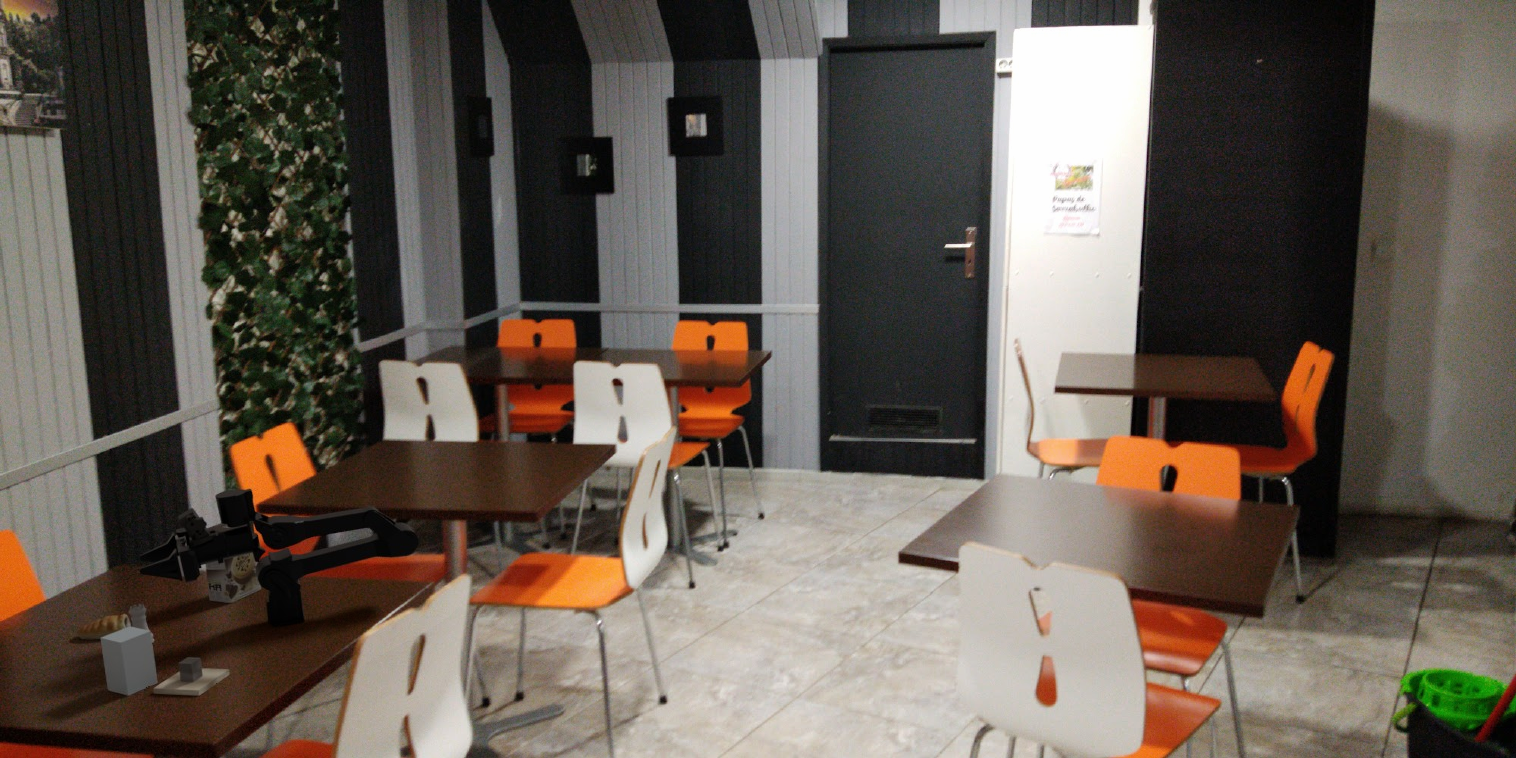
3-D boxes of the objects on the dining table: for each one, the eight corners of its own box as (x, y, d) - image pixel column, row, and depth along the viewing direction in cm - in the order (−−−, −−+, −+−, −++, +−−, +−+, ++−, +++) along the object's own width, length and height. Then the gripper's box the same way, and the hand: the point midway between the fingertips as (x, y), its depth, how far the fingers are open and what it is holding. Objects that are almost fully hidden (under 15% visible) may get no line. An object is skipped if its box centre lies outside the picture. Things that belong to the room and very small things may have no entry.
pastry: (75, 644, 242) (72, 626, 241) (82, 633, 248) (79, 615, 248) (127, 637, 245) (124, 619, 244) (132, 625, 251) (130, 608, 251)
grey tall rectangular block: (137, 677, 224) (130, 626, 222) (157, 682, 221) (150, 630, 219) (107, 690, 219) (100, 637, 217) (128, 695, 216) (120, 642, 214)
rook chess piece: (144, 649, 238) (139, 610, 236) (124, 648, 238) (119, 609, 237) (159, 640, 242) (154, 602, 240) (140, 639, 243) (134, 601, 241)
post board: (186, 672, 225) (182, 649, 225) (229, 674, 224) (226, 651, 223) (154, 693, 217) (150, 669, 216) (199, 695, 215) (196, 671, 214)
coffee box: (232, 603, 261) (223, 531, 258) (208, 601, 263) (199, 529, 261) (262, 589, 270) (254, 519, 267) (239, 587, 272) (231, 517, 269)
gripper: (214, 495, 249) (130, 514, 243) (220, 517, 233) (130, 538, 226) (225, 546, 252) (142, 566, 245) (232, 572, 235) (143, 593, 228)
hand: (139, 564), depth 236 cm, fingers open, 9 cm apart
